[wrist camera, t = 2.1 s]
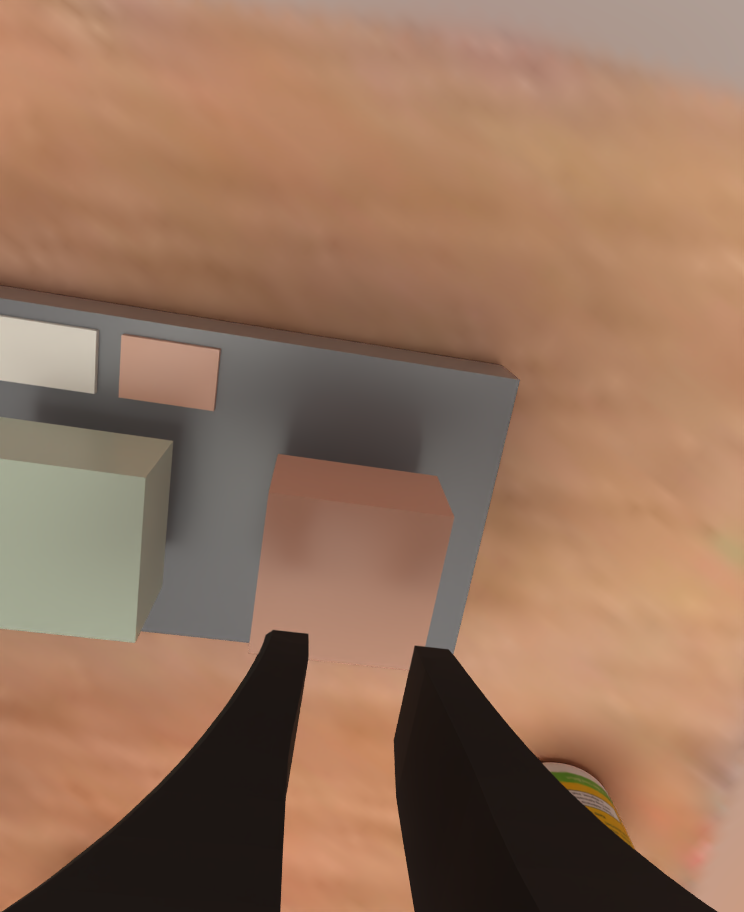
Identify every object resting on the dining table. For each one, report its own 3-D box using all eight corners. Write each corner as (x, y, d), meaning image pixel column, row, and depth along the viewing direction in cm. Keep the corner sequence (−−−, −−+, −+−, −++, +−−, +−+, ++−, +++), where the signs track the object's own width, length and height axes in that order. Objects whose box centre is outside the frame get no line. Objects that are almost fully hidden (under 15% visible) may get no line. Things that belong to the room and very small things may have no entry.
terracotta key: (259, 595, 17) (248, 653, 15) (277, 453, 16) (268, 492, 14) (407, 612, 18) (419, 671, 15) (437, 475, 17) (454, 516, 14)
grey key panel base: (-237, 550, 20) (-304, 587, 18) (-280, 241, 17) (-365, 242, 15) (440, 627, 22) (451, 668, 20) (501, 364, 19) (521, 381, 17)
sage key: (1, 567, 17) (-54, 623, 14) (-1, 416, 15) (-61, 450, 13) (162, 585, 17) (134, 643, 15) (173, 441, 16) (145, 477, 14)
